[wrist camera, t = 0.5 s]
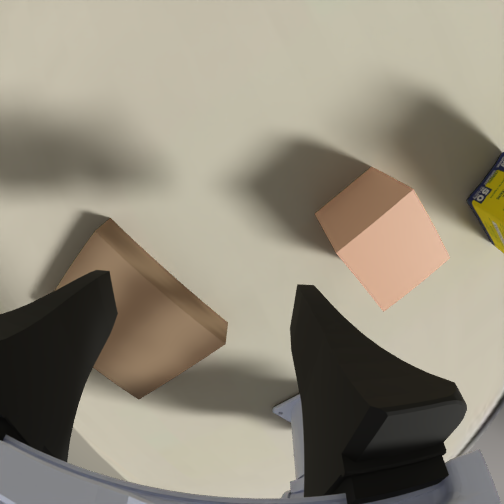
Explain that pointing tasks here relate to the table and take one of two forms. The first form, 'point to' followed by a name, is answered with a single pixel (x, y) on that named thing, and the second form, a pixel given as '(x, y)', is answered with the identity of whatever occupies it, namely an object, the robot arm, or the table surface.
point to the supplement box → (491, 204)
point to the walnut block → (146, 315)
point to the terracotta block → (383, 236)
